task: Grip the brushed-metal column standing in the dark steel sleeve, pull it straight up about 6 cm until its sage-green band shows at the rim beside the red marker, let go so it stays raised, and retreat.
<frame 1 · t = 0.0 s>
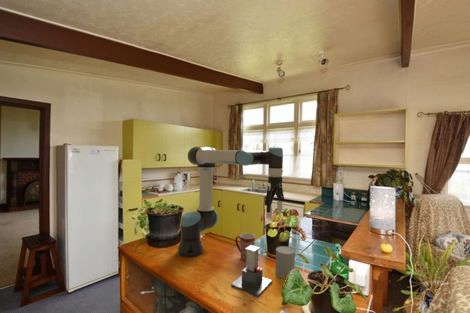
hand: (274, 215, 125), 28 cm above the worktop, fingers open, 13 cm apart
stand base: (252, 284, 109), on the worktop
gray cylinder: (284, 274, 119), on the worktop
mug: (244, 258, 136), on the worktop
column: (252, 264, 109), point 9 cm above the worktop, slide at 0.0 cm
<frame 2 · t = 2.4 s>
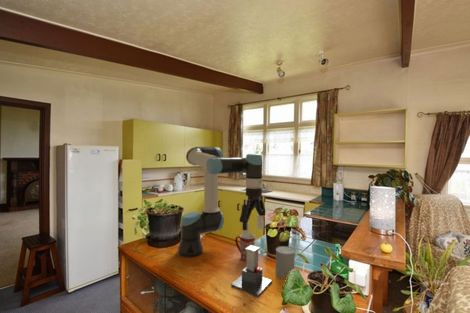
hand: (253, 232, 108), 24 cm above the worktop, fingers open, 13 cm apart
nothing on the worktop moved.
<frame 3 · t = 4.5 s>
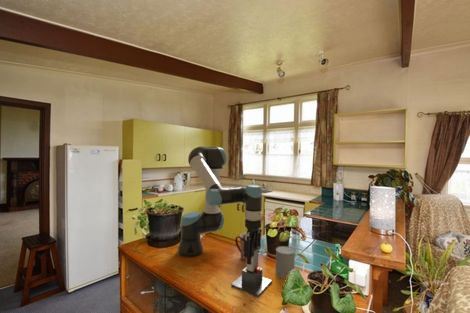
hand: (252, 268, 109), 8 cm above the worktop, fingers closed on column, 4 cm apart
column: (252, 264, 109), point 9 cm above the worktop, slide at 0.0 cm, touching gripper
everything else where it was.
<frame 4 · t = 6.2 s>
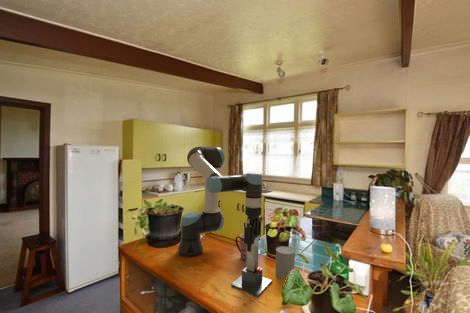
hand: (252, 255, 109), 14 cm above the worktop, fingers closed on column, 4 cm apart
column: (252, 252, 108), point 15 cm above the worktop, slide at 5.9 cm, touching gripper
everything else where it was.
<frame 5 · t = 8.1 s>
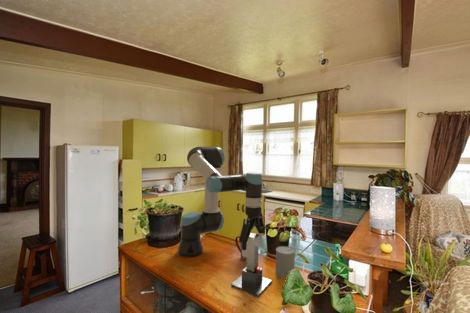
hand: (252, 251, 108), 16 cm above the worktop, fingers open, 13 cm apart
column: (252, 252, 108), point 15 cm above the worktop, slide at 6.0 cm
everything else where it was.
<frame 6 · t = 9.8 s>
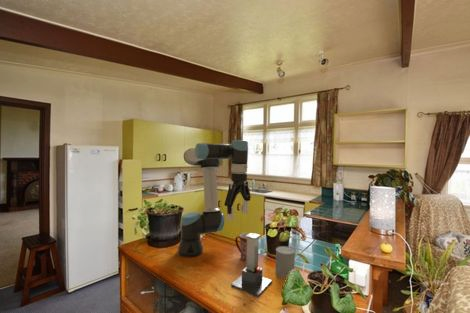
hand: (238, 216, 111), 31 cm above the worktop, fingers open, 13 cm apart
nothing on the worktop moved.
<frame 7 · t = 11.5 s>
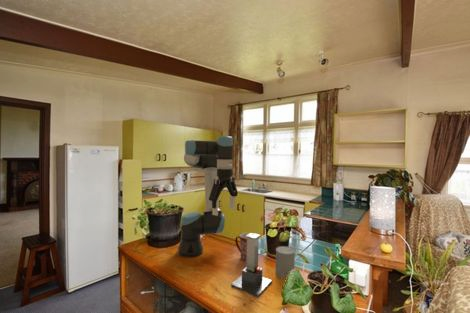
hand: (224, 212, 113), 33 cm above the worktop, fingers open, 13 cm apart
nothing on the worktop moved.
at the end: column slide at 6.0 cm; the gripper is holding nothing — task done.
